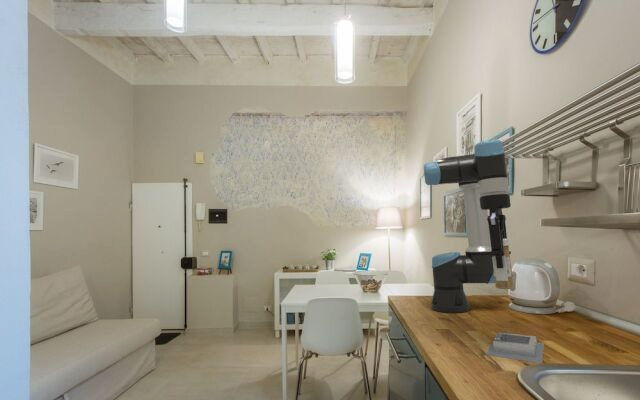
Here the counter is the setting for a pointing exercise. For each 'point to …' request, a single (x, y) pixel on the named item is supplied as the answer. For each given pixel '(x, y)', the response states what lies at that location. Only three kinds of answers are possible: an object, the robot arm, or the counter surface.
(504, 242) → the sprinkles bottle
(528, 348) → the metal collar
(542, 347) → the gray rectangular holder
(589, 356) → the counter surface
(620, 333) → the counter surface
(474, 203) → the robot arm
